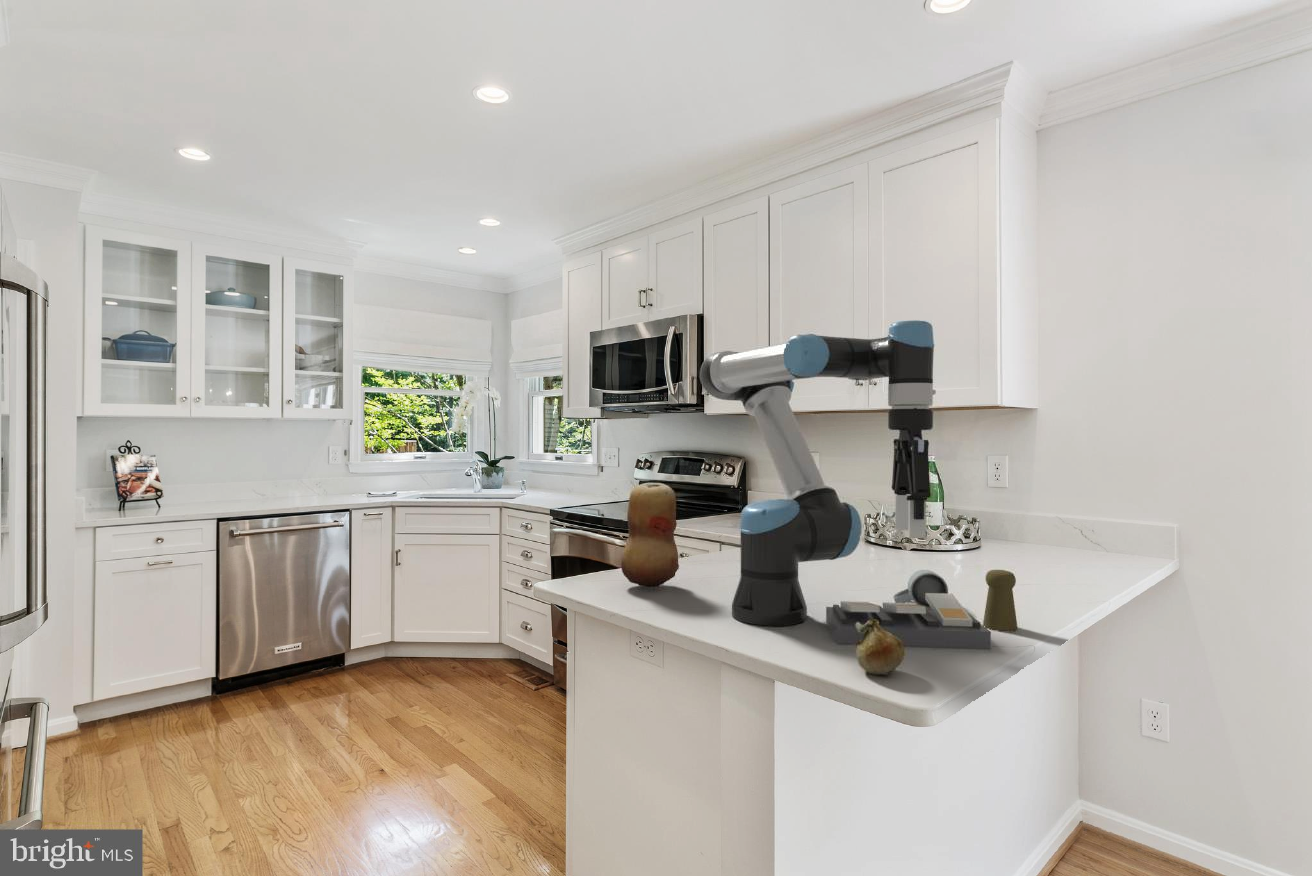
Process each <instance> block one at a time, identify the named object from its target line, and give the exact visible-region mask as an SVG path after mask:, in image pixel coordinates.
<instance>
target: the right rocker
mask: <svg viewBox="0 0 1312 876" xmlns="http://www.w3.org/2000/svg"><path fill="white" fill-rule="evenodd" d="M925 599H926V601H927V602H928V604H929V605H930V607H931V608H932V609H931V610H933V612H934V613H935V615H936V616H937V618H938V619H939V621H940V622H941V624H942V625H943V626H972V623H973V620H972V619H971V617H970V616H969V615H968V614H969V612H967V611H966V609H965V608H964V607H963V605H962V604H961V603H960V602H959V600H958V598H956V597H955V595H954V593H948V594H944V593H925Z"/></svg>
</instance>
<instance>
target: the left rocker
mask: <svg viewBox="0 0 1312 876" xmlns="http://www.w3.org/2000/svg"><path fill="white" fill-rule="evenodd" d="M839 603H840V607H841V608H843V609H846V610H848V611H851V612H880V610H879V606H880V605H879V604H875V603H871V602H868V601H846V600H845V601H844V600H843V601H840V602H839Z"/></svg>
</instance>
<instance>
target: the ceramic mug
mask: <svg viewBox="0 0 1312 876" xmlns="http://www.w3.org/2000/svg"><path fill="white" fill-rule="evenodd" d="M925 593H944V594H949V587H948V584H947V583H946V581H945V579H944V578H943V577H942V576H940V575H939V574H937V573H936V572H935V571H932V570H928V569H919V570H918V571H915V572H914V573H912V574H911V575H910V577H909V579H908V582H907V588H906V589H903V590H901V591H899V592H897V593H895V594H894V595H893V596H892V597H893V599H894V603H910V602H912V601H913V602H914V603H915V605H920V606H925V607H926V610H932V608H931V607H930V605H929V604H928V602H927V601H926V599H925Z"/></svg>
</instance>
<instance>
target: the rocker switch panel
mask: <svg viewBox="0 0 1312 876" xmlns="http://www.w3.org/2000/svg"><path fill="white" fill-rule="evenodd" d="M879 610H880V612H851V611H848V610H846V609H843V608H841V606H840V605H839V604H832V606H826V609H825V613H826V614H825V622H826V625H827V626H828V628H829V630H830V631H831V633H833V634H832V636H833V635H834V636H833V637H835V638H834V639H835V641H836V643H837V644H838V645H853V644H856V645H855V646H857V642H858V640H861V638H863V636H864V634H861V633H859V631H857V628H856V626H855V625H856V623H857V622H859V623H860V624H862V625H865V624H866V623H867V622H868V621H869V620H870V621H872V620H873V619H875V620H877V621H879V626H880V627H881V628H882V629H883V630H884V631H887V632H889V633H891V634H892V635H893V636H895V637H897V638H899V640H900V641H902V643H903V645H904V647H919V648H920V647H921V648H945V649H946V648H949V649H950V648H951V649H952V648H953V649H978V650H979V649H982V650H983V649H984V650H985V649H986V650H991V649H992V648H991V646H992V645H991V641H992V639H991V638H992V637H991V633H992V632H991V630H990V629H988V628H985V627H984V626H983V624H981V621H979V620H977V619H976V618H975V617H974V616H972V615H971V614H969V613H968V615H969V616H970V617H971V619H972V620H973V623H972V626H943V625H942V624H941V622H940V621H939V619H938V618H937V616H936V615H935V613H934V612H933V610H932V609H926V614H920V613H896V612H892V611H889V610H885V609H883V606H881V605H879Z"/></svg>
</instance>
